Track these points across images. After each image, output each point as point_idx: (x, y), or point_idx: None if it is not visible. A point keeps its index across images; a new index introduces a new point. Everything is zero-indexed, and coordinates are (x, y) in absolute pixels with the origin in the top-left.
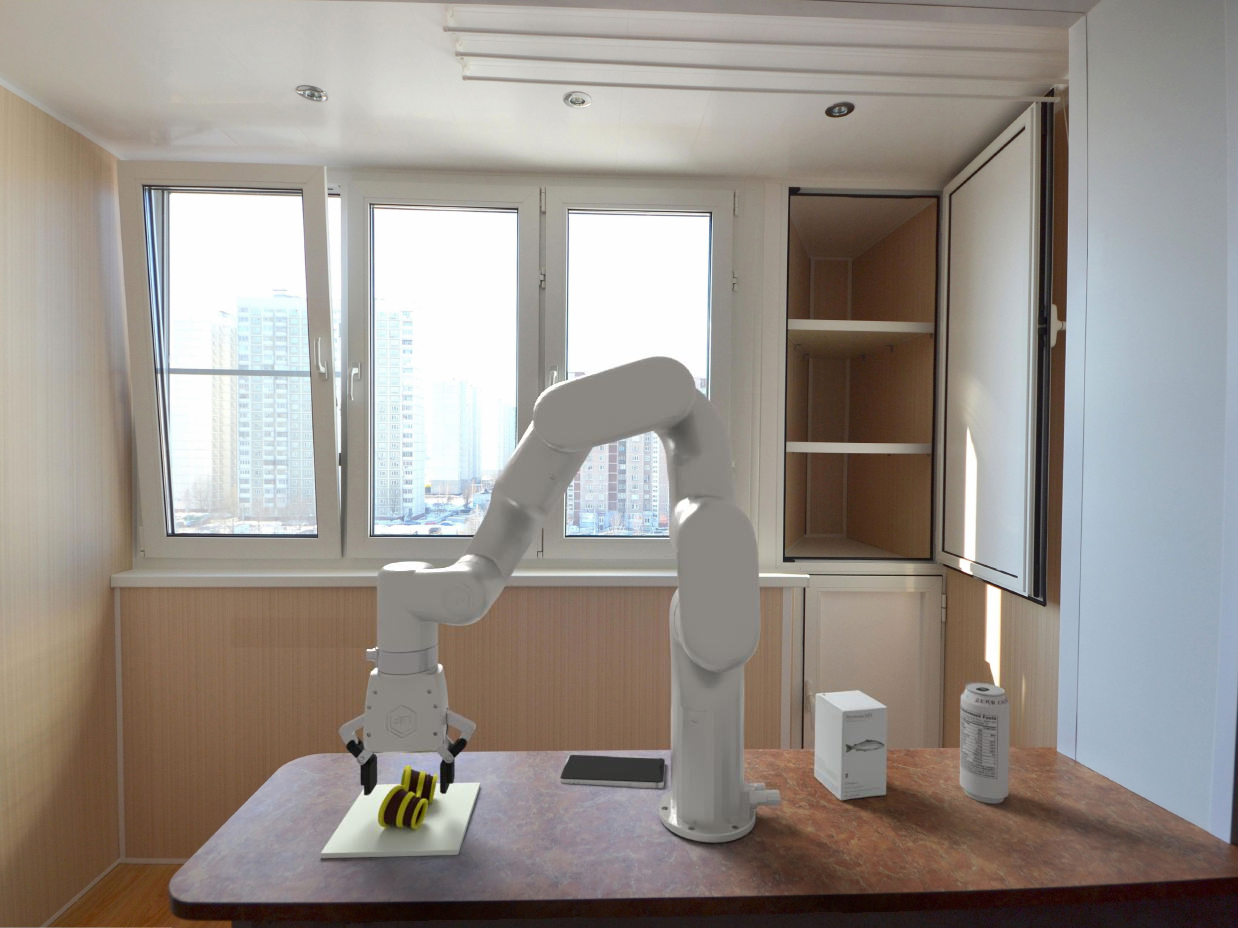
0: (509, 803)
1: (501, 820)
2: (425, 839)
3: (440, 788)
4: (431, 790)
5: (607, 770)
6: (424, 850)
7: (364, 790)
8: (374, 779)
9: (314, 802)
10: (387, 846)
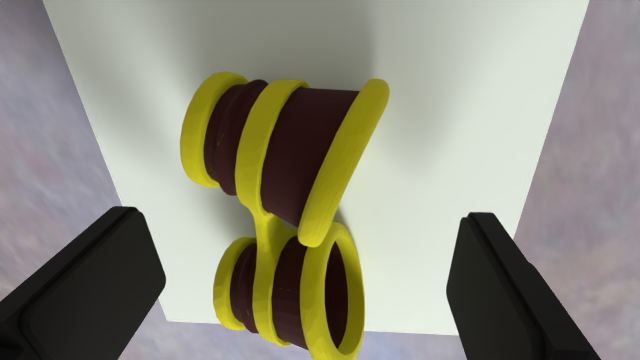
0: (57, 241)
1: (27, 165)
2: (186, 33)
3: (124, 220)
4: (230, 260)
5: None
6: None
7: (498, 223)
8: (462, 294)
9: (631, 280)
10: None
